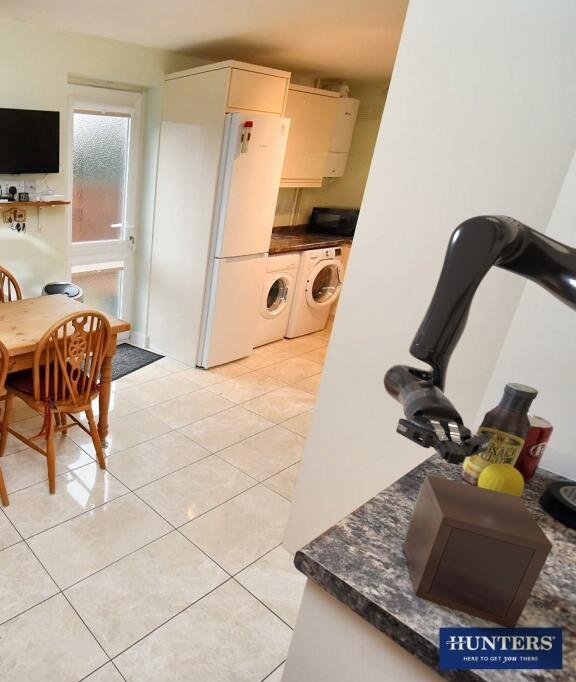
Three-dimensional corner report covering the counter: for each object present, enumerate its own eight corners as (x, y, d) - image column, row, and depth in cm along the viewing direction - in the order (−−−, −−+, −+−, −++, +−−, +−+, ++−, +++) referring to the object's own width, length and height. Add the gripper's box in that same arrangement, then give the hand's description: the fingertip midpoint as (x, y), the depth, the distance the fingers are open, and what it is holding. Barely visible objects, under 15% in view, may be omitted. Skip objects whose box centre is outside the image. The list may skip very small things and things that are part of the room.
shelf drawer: (403, 529, 70) (420, 477, 67) (482, 552, 65) (504, 498, 62) (417, 580, 60) (437, 523, 57) (511, 611, 56) (538, 551, 53)
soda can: (524, 469, 88) (546, 415, 84) (537, 489, 82) (562, 432, 78) (476, 458, 92) (495, 406, 88) (486, 476, 86) (506, 421, 82)
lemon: (511, 518, 74) (528, 477, 72) (469, 501, 78) (483, 462, 76) (516, 504, 78) (533, 465, 75) (475, 489, 82) (489, 451, 79)
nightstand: (402, 546, 68) (426, 474, 64) (487, 572, 63) (519, 496, 59) (415, 595, 59) (443, 515, 55) (514, 629, 55) (553, 545, 51)
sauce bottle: (456, 480, 84) (491, 384, 78) (462, 468, 88) (495, 375, 82) (503, 497, 80) (544, 397, 73) (507, 483, 84) (545, 387, 77)
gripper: (392, 388, 85) (409, 427, 70) (482, 403, 79) (520, 449, 64) (383, 423, 87) (397, 467, 73) (469, 440, 81) (504, 492, 67)
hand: (455, 459), depth 68 cm, fingers closed
